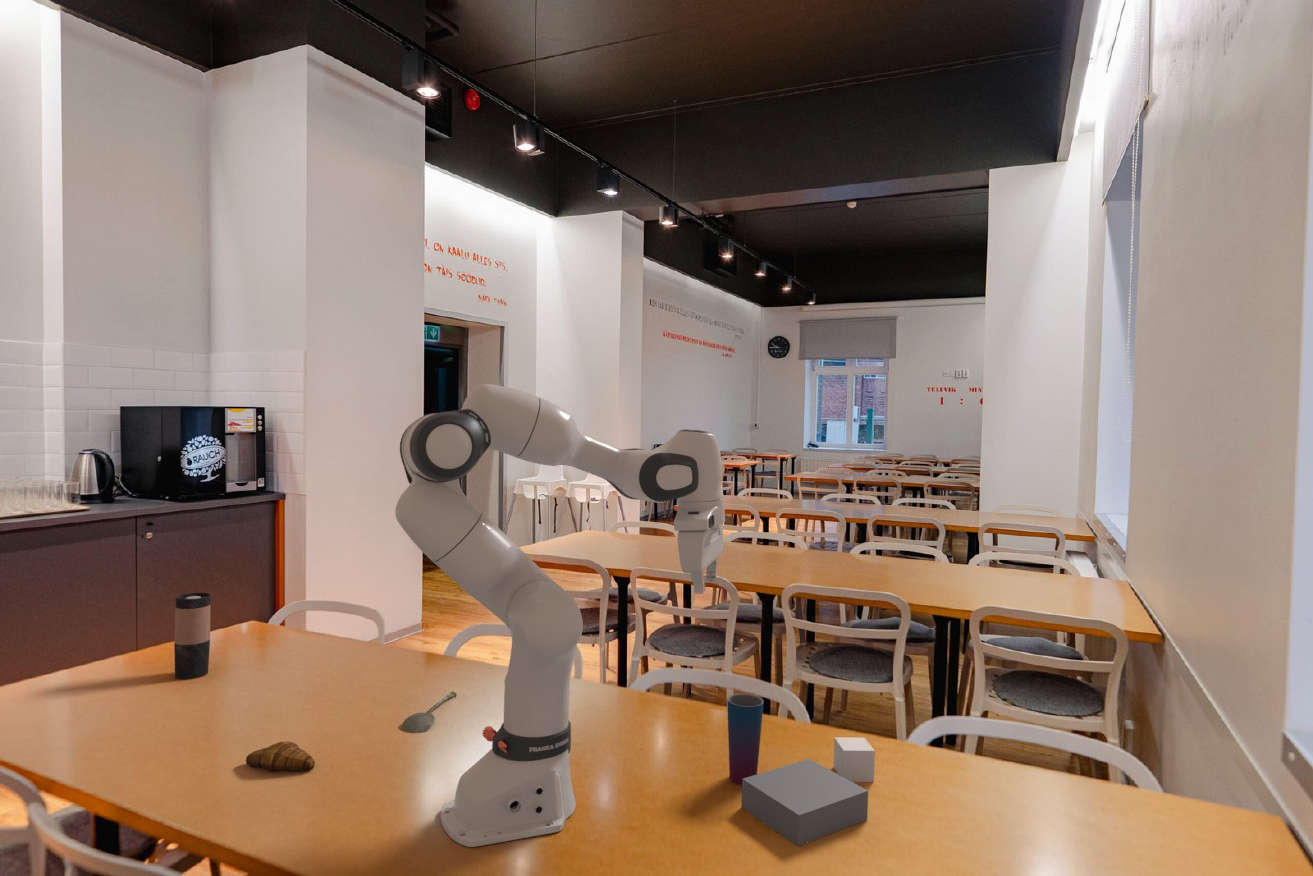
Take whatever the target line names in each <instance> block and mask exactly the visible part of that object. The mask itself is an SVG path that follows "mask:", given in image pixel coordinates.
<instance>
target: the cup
mask: <svg viewBox="0 0 1313 876" xmlns="http://www.w3.org/2000/svg"><path fill="white" fill-rule="evenodd" d="M726 700H727V705H726V706H727V707H726V708H727V731H728V732H727V735H728V763H729V764H728V766H729V767H728V768H729V769H728V770H729V780H730V782H731V783H733V784H735V783H737V784H736V785H738V784H741V785H740V786H742V779H743V778H747V777H750V776H753V775H757V774H758V767H759V758H760V757H759V755H760V746H761V745H760V744H761V737H762V736H761V734H762V725H763V713H764V704H765V703H764V699H763V698H762V697H760V696H758V695H755V694H752V693H751V694H750V693H734V694H731V695H729V696H727V698H726Z"/></svg>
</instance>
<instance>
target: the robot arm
mask: <svg viewBox="0 0 1313 876" xmlns="http://www.w3.org/2000/svg"><path fill="white" fill-rule="evenodd" d="M487 450H492V451H496V452H500V453H503V454H505V455H508V456H511V457H513V458H517V459H519V460H522V461H526V462H529V463H532V464H539V465H543V466H551V467H556V466H567V467H568V466H569V467H573V468H575V469H578V470H581V471H583V472H585V473H588V474H591V475H593V476H596V477H598V478H600V479H604V480H605V481H607V482H608V483H609V484H610V485H611V486H612V487H613V488H614V489H615V490H616V491H617V492H618V493H619V494H620V495H622V496H623V497H625V498H626V499H630V500H639V501H640V500H641V501H646V502H651V503H657V504H659V503H660V504H661V503H667V502H671V501H672V500H673V501H674V500H676V499H677V513H676V516H675V518H674V519H673V528H674V531H675V532H678V533H677V548H678V550H677V551H678V556H679V557H678V558H679V564H680V568H681V570H682V573H684V574H690V577H691V581H692V585H693V592H694V594H696V595H702V594H704V593H705V591H706V582H708V583H710V582H711V583H713V582H715V581H716V580H717V578H718V576H717V569H718V562H719V561H718V560H719V559H718V558H719V557H720V556H721V555H722V554H723V553H724V549H725V543H724V542H725V541H724V534H723V533H724V531H723V530H724V529H723V525H722V524H724V523H725V522H726V511H725V510H726V509H725V497H724V493H723V490H722V478H723V464H722V456H721V449H720V445H719V441H718V438H717V436H715V434H714V433H712V432H710V431H706V430H701V429H700V430H699V429H680V430H678V431H677V432H676V433H675V435H673V437H671V438H670V439H669V440H667V441H666V442H664V443H663V444H661V445H659V446H658V447H655V448H653V449H644V448H639V447H638V448H625V449H624V448H623V449H622V448H621V449H620V448H616V447H613V446H611V445H609V444H606V443H604V442H601V441H599V440H597V439H594V438H592V437H589V436H587V435H585V434H583V433H581V431H579V429H578V427H577V423H576V420H575V418H574V416H573V415H572V414H571V413H569V412H568V411H566V409H565V410H564V409H563V408H561V407H560V406H558V405H557V404H555V403H553V402H550V401H549V400H546V399H544V398H541V397H539V396H537V395H534V394H531V393H529V392H525V391H522V390H519V389H514V388H511V387H508V386H502V385H497V384H492V383H483V384H480V385H478V386H475V388H473V389H472V390H471V392H469V393H468V395H467V396H466V398H465V400H464V402H463V404H462V408H460V409H457V410H456V409H455V410H450V411H449V410H448V411H442V412H436V413H435V412H434V413H429V414H428V413H427V414H426V415H422V416H421V417H418V418H417V419H416V420H414V421H413V422H412V423H411V424H409V425H408V426H407V428H406V429H405V430H404V432H403V433H402V435H401V439H400V443H399V454H400V459H401V462H402V465H403V469H404V472H405V475H406V479H407V481H408V484H409V486H407V487H406V489H405V490H404V491H403V492H402V493H401V495H400V497H399V498H398V500H397V503H396V505H395V511H394V514H395V518H396V520H397V523H398V524H399V525H400V527H401V528H402V529H403V531H404V533H406V535H407V536H408V537H409V539H410V540H411V541H412V542H413V543H414V544H415V545H416V547H417V548H418V549H419V550H420V551H421V552H422V553H423V554H424V555H425V556H426V557H427V558H428V559H430V561H431V562H432V563H434V564H435V565H436V567H438V568H439V569H440V570H441V571H442V572H443V573H445V574H446V575H447V576H448V577H449V578H450V579H452V581H453V582H455V583H456V584H457V585H458V586H459V587H460V588H461V589H463V590H464V591H465V592H466V593H467V594H468V595H470V596H471V597H472V598H473V599H475V600H476V601H478V602H479V603H480V604H481V605H482V606H484V607H485V608H486V609H488V611H490V612H491V613H492V614H493V615H495V617H496V618H498V619H499V620H500V621H501V622H502V623H503V624H504V625H505V626H506V627H507V628H508V629H509V630H510V633H511V634H510V635H511V650H510V655H509V656H510V657H509V658H510V659H509V663H508V668H507V673H506V676H505V677H504V690H503V691H504V693H503V722H502V724H501V726H500V728H499V729H498V730H497V731H496V729H494V727H492V726H491V725H488V726H485V727H484V728H483V730H482V737H483V738H484V739H485V740H486V741H487V742H492V743H491V749H489V751H488V752H487V753H485V754H484V755H483V756H482V757H481V758H480V759H479V760H478V761H477V762H475V763H474V764H473V765H472V766H470V767H469V768H468V769H467V770H466V771H465V772H464V773H463V774H462V775H461V776H460V778H459V780H458V782H457V786H456V789H455V795H454V796H455V797H454V799H452V800H451V801H448V802H444V803H443V805H442V806H441V809H440V816H439V818H440V819H439V820H440V824H441V826H442V828H443V830H444V831H445V832H446V834H447V835H448V836H449V837H450V839H452V840H453V841H455V842H456V843H457V844H460V845H462V846H464V847H467V848H476V847H481V846H486V845H493V844H498V843H503V842H509V841H514V840H519V839H527V838H531V837H532V838H533V837H535V836H536V837H537V836H542V835H543V836H544V835H547V834H548V835H549V834H553V833H558V832H560V831H561V830H563V829H564V825H565V821H567V819H568V818H569V817H570V816H571V815H572V814H573V813H574V812H575V809H576V806H577V802H576V801H577V800H576V798H575V794H574V790H573V785H572V778H571V769H570V757H569V756H570V752H571V749H572V748H571V745H572V727H571V726H572V724H571V722H570V720H569V719H570V718H569V715H570V694H571V693H570V689H571V688H570V687H571V676H572V670H573V665H574V660H575V655H576V651H577V645H578V643H579V641H580V640H581V638H582V635H583V634H582V633H583V631H584V629H583V628H584V624H583V623H584V621H583V617H582V612H581V610H580V607H579V605H578V602H577V601H576V600H575V599H576V598H574V597H573V596H572V595H571V594H570V593H569V592H567V590H565V589H564V588H562V586H561V585H559V584H558V583H557V582H556V581H554V580H553V579H552V578H551V577H550V576H549V575H548V574H547V573H545V572H544V570H543V569H541V568H540V566H538V564H536V562H534V561H533V560H532V558H530V557H529V556H528V555H527V554H526V552H524V551H523V549H521V548H520V547H519V545H517V544H516V543H515V542H514V541H513V540H512V539H511V538H510V537H509V536H508V535H507V534H506V533H504V531H503V530H501V528H500V527H498V526H497V525H496V524H495V523H494V522H493V521H492V520H491V519H490V518H489V517H488V516H487V515H486V514H485V513H484V512H483V511H481V510H480V509H479V507H477V506H476V505H475V504H474V503H473V502H471V500H469V498H468V497H467V496H466V495H465V494H464V491H463V489H462V488H461V485H460V479H461V478H463V477H465V476H466V475H468V473H469V472H471V471H472V470H473V468H474V467H475V466H476V465H477V464H478V462H479V460H480V459H481V458H482V457H483V455H484V454H485V453H486V452H487ZM705 570H706V572H705V573H704V571H705ZM704 574H705V579H706V582H705V580H704Z"/></svg>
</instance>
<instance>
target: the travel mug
mask: <svg viewBox="0 0 1313 876" xmlns="http://www.w3.org/2000/svg"><path fill="white" fill-rule="evenodd" d="M210 646H211V594H210V593H208V592H191V593H184V594H180V595H179V596H178V597H175V615H174V646H173V647H174V648H173V649H174V678H176V679H178V680H192V679H198V678H202V677H205V676H206V675H208V673H209V665H210V663H209V661H210Z"/></svg>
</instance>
